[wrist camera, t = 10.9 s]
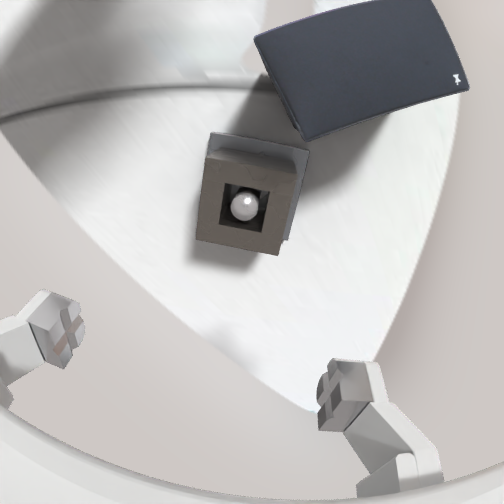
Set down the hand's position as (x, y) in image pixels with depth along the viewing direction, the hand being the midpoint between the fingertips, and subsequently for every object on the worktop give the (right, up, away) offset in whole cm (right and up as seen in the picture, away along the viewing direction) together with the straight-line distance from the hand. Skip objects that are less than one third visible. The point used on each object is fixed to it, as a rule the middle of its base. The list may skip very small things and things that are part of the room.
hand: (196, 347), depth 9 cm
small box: (+9, +17, +12) cm, 22 cm away
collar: (+2, +8, +16) cm, 18 cm away
